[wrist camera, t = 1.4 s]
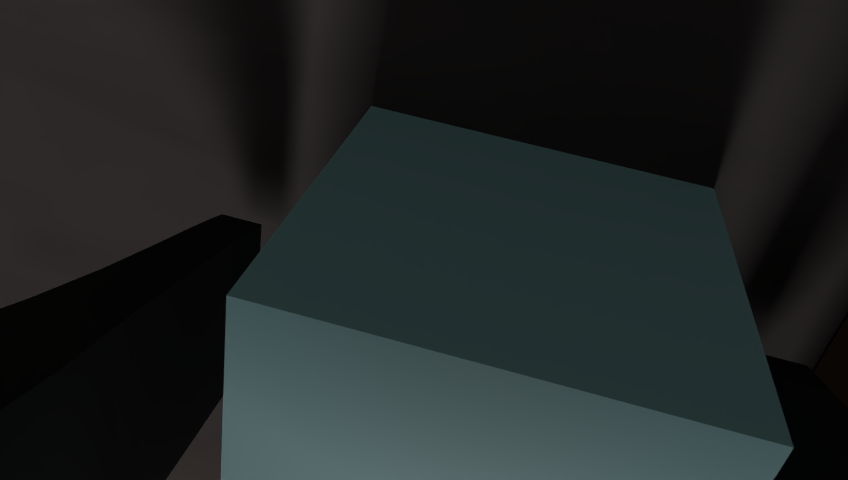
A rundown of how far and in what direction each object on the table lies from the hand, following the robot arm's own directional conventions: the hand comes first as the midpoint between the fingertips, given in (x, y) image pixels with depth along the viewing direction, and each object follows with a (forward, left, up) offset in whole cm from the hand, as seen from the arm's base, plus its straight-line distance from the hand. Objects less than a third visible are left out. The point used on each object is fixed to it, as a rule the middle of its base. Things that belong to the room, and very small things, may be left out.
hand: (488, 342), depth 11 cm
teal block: (0, 0, -2) cm, 2 cm away
